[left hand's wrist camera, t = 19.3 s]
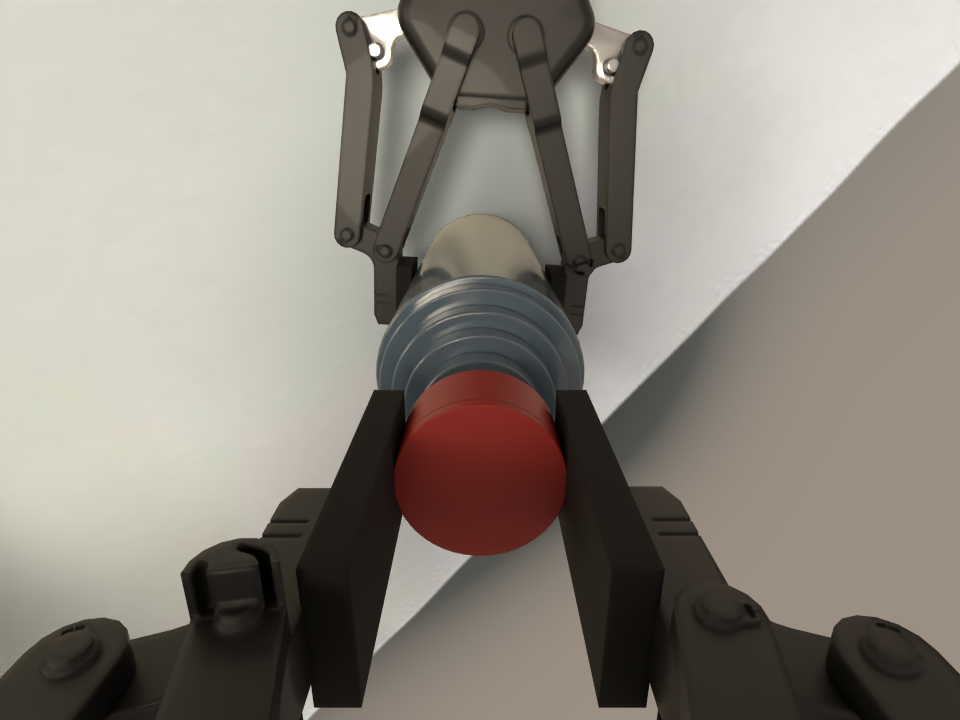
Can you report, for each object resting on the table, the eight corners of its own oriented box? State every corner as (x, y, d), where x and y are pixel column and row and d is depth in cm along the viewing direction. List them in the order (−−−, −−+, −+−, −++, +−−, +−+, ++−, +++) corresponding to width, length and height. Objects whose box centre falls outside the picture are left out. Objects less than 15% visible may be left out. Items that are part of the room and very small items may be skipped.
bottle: (401, 268, 35) (271, 466, 13) (482, 189, 33) (487, 265, 12) (477, 344, 37) (474, 632, 15) (558, 272, 35) (687, 476, 13)
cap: (547, 508, 15) (557, 560, 13) (402, 499, 15) (391, 551, 13) (564, 373, 14) (578, 410, 12) (406, 364, 14) (393, 399, 12)
